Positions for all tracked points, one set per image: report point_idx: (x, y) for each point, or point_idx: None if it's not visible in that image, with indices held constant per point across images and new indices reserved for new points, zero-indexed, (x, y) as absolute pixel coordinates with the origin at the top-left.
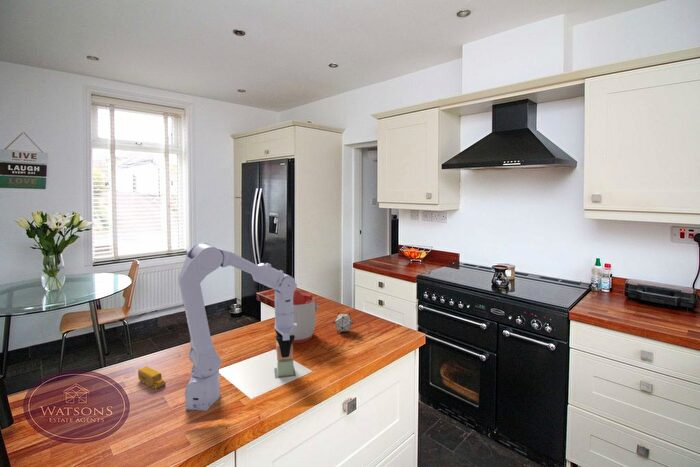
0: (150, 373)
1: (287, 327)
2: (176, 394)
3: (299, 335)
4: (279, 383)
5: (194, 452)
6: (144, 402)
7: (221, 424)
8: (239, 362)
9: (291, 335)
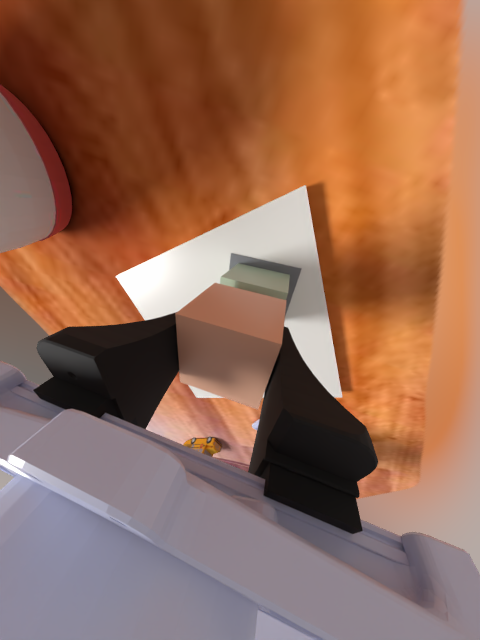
0: None
1: (251, 633)
2: (243, 438)
3: (21, 163)
4: (315, 328)
5: (417, 475)
6: (246, 457)
7: (374, 438)
8: None
9: (290, 438)
